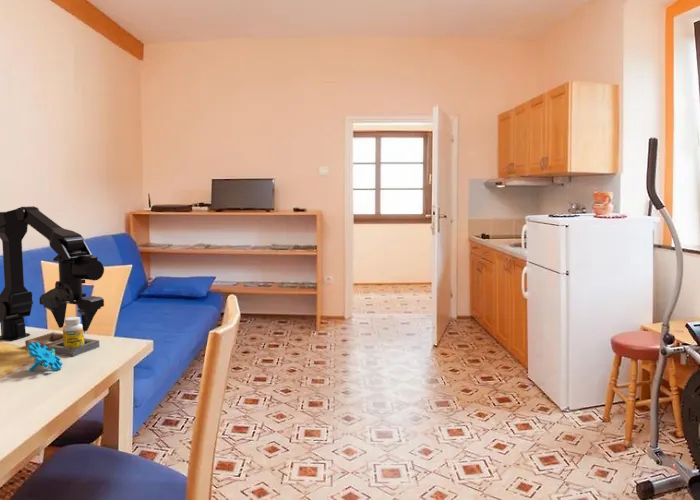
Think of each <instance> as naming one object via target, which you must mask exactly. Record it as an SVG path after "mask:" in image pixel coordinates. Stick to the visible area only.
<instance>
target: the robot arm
mask: <svg viewBox="0 0 700 500" xmlns="http://www.w3.org/2000/svg"><path fill="white" fill-rule="evenodd" d="M29 226H30V227H32V229H34V230H35V231H37V232H38V233H39V234H41V236H43V237H44V238H45V239H46V240H48V244H49V246H50V248H51V249H52V250H53V251H54V252H55V253H56V254H57V255H55V257H54V258H53V262H58V279H59V280H57V281H55V284H54V288H52V289H50V290H47V292H44V293H42V294H41V295H40V296H39V305H42V306H43V308H46V309H47V310H49V311H50V312H51V313H52V315H53V318H54V319H55V322H56V324H57V327H58V328H59V329H61V328H62V329H63V327H64V326H65V325H64V324H65V319H66V314H67V305H68V304H70V305H77V308H78V310H77V312H78V313H79V314H80V316H81V317H80V318H81V324H82V327H83V331H84V332H87V331H88V330H89V328H90V326H91V324H92V321H93V319H94V318H95V316H96V314H97V312H98V311H99V310H101V308H102V307H105V300H104V298H103V297H101V296H95V295H90V296H88V297H87V293H85V292H83V284H85V283H86V281H99V280H100V279H101V278H102V277H103V275H104V272H105V267H104V265H103V263H102V262H101V261H100V260H98V256H97V255H93V253H92V252H91V251H92V250H91V249H90V248H89V247H88V245H87V243H86V241H85V238H84V237H83V236H82V235H81V234H80V233H78V232H76V231H73V230H72V229H71V230H70V229H66V228H64V227H62V226H60V225H59V224H58V223H56V222H55V221H54V220H53V219H51V218H50V217H48V216H47V215H46V214H44V213H43V212H42V211H40V209H39V208H38V207H37V206H20V207H18V208H15V209H13V210H8V211H0V240H1V242H2V259H3V277H4V280H3V281H4V288H3V290H2V291H1V293H0V340H4V341H14V340H18V339H21V338H25V337H28V336H30V335H31V334H30V333H29V332H26V322H25V317H30V316H31V312H32V308H33V304H34V301H33V292H32V291H29V290H28V288H26V286H25V280H24V279H25V278H24V259H23V243H22V242H23V240H24V238H25V236H26V235H27V232H28V228H29Z"/></svg>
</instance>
